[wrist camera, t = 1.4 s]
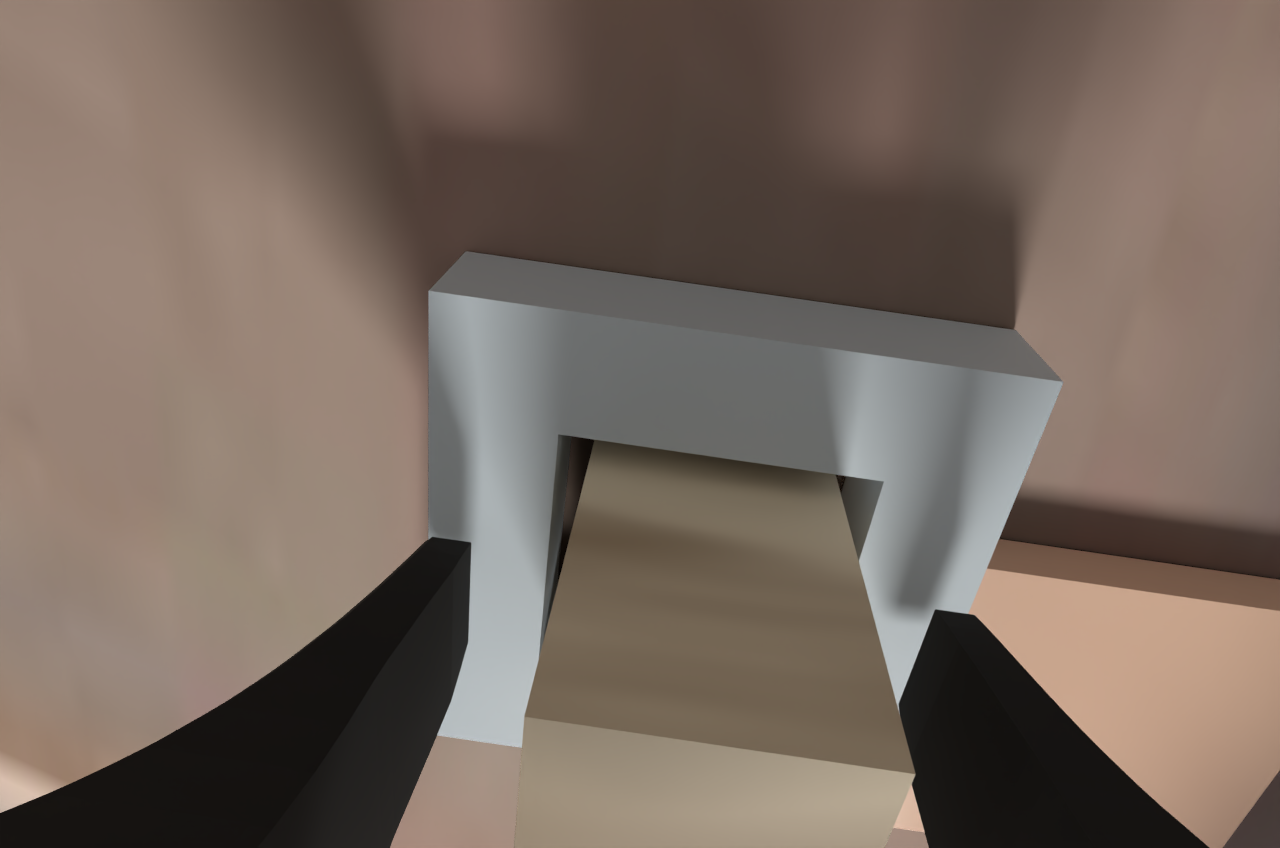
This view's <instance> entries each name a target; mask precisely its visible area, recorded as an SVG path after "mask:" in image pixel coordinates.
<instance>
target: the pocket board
mask: <svg viewBox="0 0 1280 848" xmlns="http://www.w3.org/2000/svg"><path fill="white" fill-rule="evenodd" d="M1062 384H1063V381H1062V380H1061V379H1060V378H1059V377H1058V376H1057V374H1056V373H1055V372H1054V371H1053V370H1052V369H1051V368H1050V367H1049V366H1048V365H1047V364H1046V362H1045V361H1044V360H1043V359H1042V358H1041V357H1040V356H1039V355H1038V354H1037V353H1036V352H1035V351H1034V349H1033V348H1032V347H1031V346H1030V345H1029V344H1028V343H1027V342H1026V341H1025V340H1024V339H1023V337H1022V336H1021V335H1020V334H1019V333H1018V332H1017V331H1016V330H1012V329H1005V328H998V327H991V326H984V325H977V324H970V323H963V322H956V321H949V320H942V319H935V318H928V317H921V316H914V315H907V314H900V313H893V312H886V311H879V310H872V309H865V308H858V307H851V306H844V305H837V304H830V303H823V302H816V301H809V300H802V299H795V298H788V297H782V296H775V295H768V294H761V293H754V292H747V291H740V290H733V289H726V288H719V287H712V286H705V285H698V284H691V283H684V282H677V281H670V280H663V279H656V278H649V277H642V276H635V275H628V274H621V273H614V272H607V271H600V270H593V269H586V268H579V267H572V266H565V265H558V264H551V263H544V262H537V261H530V260H524V259H517V258H510V257H503V256H496V255H489V254H482V253H475V252H468V251H466V252H465V253H464V254H463V255H462V256H461V257H460V258H459V259H458V260H457V261H456V262H455V263H454V264H453V265H452V266H451V267H450V269H449V270H448V271H447V272H446V273H445V274H444V275H443V276H442V277H441V278H440V279H439V280H438V281H437V282H436V283H435V284H434V286H433V287H432V288H431V289H430V290H429V408H428V539H430V538H431V537H438V538H445V539H452V540H459V541H466V542H471V571H470V603H469V636H468V645H467V648H466V652H465V655H464V659H463V662H462V666H461V669H460V673H459V676H458V680H457V683H456V686H455V690H454V693H453V696H452V700H451V703H450V705H449V708H448V710H447V712H446V715H445V717H444V720H443V722H442V724H441V727H440V729H439V732H438V734H437V735H439V736H445V737H452V738H459V739H466V740H472V741H479V742H486V743H493V744H500V745H506V746H513V747H520V748H522V738H523V726H524V716H525V712H526V708H527V704H528V700H529V696H530V692H531V688H532V684H533V680H534V676H535V672H536V668H537V664H538V660H539V657H540V653H541V649H542V645H543V641H544V637H545V633H546V629H547V625H548V621H549V617H550V613H551V609H552V605H553V601H554V598H555V594H556V590H557V581H558V571H559V560H560V550H561V540H562V529H563V519H564V508H565V498H566V488H567V477H568V467H569V457H570V446H571V436H573V437H580V438H587V439H594V440H601V441H608V442H615V443H622V444H629V445H635V446H642V447H649V448H656V449H663V450H670V451H677V452H684V453H691V454H698V455H705V456H711V457H718V458H725V459H732V460H739V461H746V462H753V463H760V464H767V465H774V466H780V467H787V468H794V469H801V470H808V471H815V472H822V473H829V474H836V475H843V476H846V478H845V481H844V485H843V488H842V492H841V497H842V500H843V504H844V508H845V512H846V515H847V519H848V523H849V527H850V530H851V534H852V538H853V542H854V545H855V549H856V553H857V557H858V560H859V564H860V568H861V572H862V575H863V579H864V583H865V587H866V590H867V594H868V598H869V602H870V605H871V609H872V613H873V617H874V620H875V624H876V628H877V632H878V635H879V639H880V643H881V647H882V650H883V654H884V658H885V662H886V665H887V669H888V673H889V677H890V680H891V684H892V688H893V692H894V695H895V699H896V703H897V706H898V710H899V705H898V704H899V701H900V699H901V696H902V694H903V691H904V688H905V686H906V683H907V681H908V678H909V676H910V673H911V670H912V668H913V665H914V663H915V660H916V657H917V655H918V652H919V650H920V647H921V644H922V642H923V639H924V637H925V634H926V631H927V629H928V626H929V624H930V621H931V619H932V616H933V613H934V611H935V609H937V610H944V611H951V612H958V613H965V614H968V613H969V611H970V608H971V606H972V603H973V601H974V599H975V596H976V594H977V591H978V589H979V586H980V584H981V581H982V579H983V577H984V574H985V572H986V569H987V567H988V564H989V562H990V560H991V557H992V555H993V552H994V550H995V547H996V545H997V543H998V540H999V538H1000V535H1001V533H1002V530H1003V528H1004V526H1005V523H1006V521H1007V518H1008V516H1009V513H1010V511H1011V509H1012V506H1013V504H1014V501H1015V499H1016V496H1017V494H1018V491H1019V489H1020V487H1021V484H1022V482H1023V479H1024V477H1025V474H1026V472H1027V470H1028V467H1029V465H1030V462H1031V460H1032V457H1033V455H1034V453H1035V450H1036V448H1037V445H1038V443H1039V440H1040V438H1041V436H1042V433H1043V431H1044V428H1045V426H1046V423H1047V421H1048V419H1049V416H1050V414H1051V411H1052V409H1053V406H1054V404H1055V402H1056V399H1057V397H1058V394H1059V392H1060V389H1061V387H1062ZM899 714H900V713H899Z"/></svg>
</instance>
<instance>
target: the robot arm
mask: <svg viewBox="0 0 1280 848" xmlns="http://www.w3.org/2000/svg"><path fill="white" fill-rule="evenodd" d="M470 571H471V542H466V541H459V540H452V539H445V538H438V537H431V538H430V539H428V540H427V541H425V542H424V543H423V544H422V545H421V546H420V547H419V548H418V549H417V550H416V551H415V552H414V553H413V554H412V555H411V556H410V557H409V558H408V559H407V560H406V561H405V562H403V563H402V564H401V565H400V566H399V567H398V568H397V569H396V570H395V571H394V572H393V573H392V574H391V575H390V576H389V577H387V578H386V579H385V580H384V581H383V582H382V583H381V584H380V585H379V586H378V587H376V588H375V589H374V590H373V591H372V592H371V593H370V594H369V595H367V596H366V597H365V598H364V599H363V600H362V601H360V602H359V603H358V604H357V605H356V606H355V607H353V608H352V609H351V610H350V611H349V612H348V613H347V614H345V615H344V616H343V617H342V618H341V619H339V620H338V621H337V622H336V623H335V624H333V625H332V626H331V627H330V628H328V629H327V630H326V631H324V632H323V633H322V634H321V635H319V636H318V637H317V638H315V639H314V640H313V641H312V642H310V643H309V644H308V645H306V646H305V647H304V648H303V649H301V650H300V651H299V652H297V653H296V654H295V655H294V656H292V657H291V658H290V659H288V660H287V661H285V662H284V663H283V664H281V665H280V666H278V667H277V668H276V669H274V670H273V671H271V672H270V673H269V674H267V675H266V676H264V677H263V678H261V679H260V680H258V681H257V682H255V683H254V684H252V685H251V686H249V687H248V688H246V689H245V690H243V691H242V692H240V693H239V694H237V695H236V696H234V697H233V698H231V699H229V700H228V701H226V702H225V703H223V704H221V705H220V706H218V707H216V708H215V709H213V710H211V711H209V712H208V713H206V714H204V715H203V716H201V717H199V718H197V719H196V720H194V721H192V722H190V723H189V724H187V725H185V726H183V727H182V728H180V729H178V730H176V731H174V732H173V733H171V734H169V735H167V736H166V737H164V738H162V739H160V740H159V741H157V742H155V743H153V744H151V745H149V746H147V747H145V748H143V749H141V750H139V751H137V752H135V753H133V754H131V755H129V756H127V757H125V758H123V759H121V760H119V761H117V762H115V763H113V764H111V765H109V766H107V767H105V768H103V769H101V770H99V771H96V772H94V773H92V774H90V775H88V776H86V777H84V778H82V779H79V780H77V781H75V782H73V783H71V784H69V785H66V786H64V787H62V788H60V789H57V790H55V791H53V792H51V793H48V794H46V795H43V796H41V797H39V798H36V799H34V800H31V801H29V802H26V803H24V804H22V805H19V806H17V807H14V808H12V809H9V810H7V811H4V812H2V813H0V848H390V846H391V843H392V840H393V838H394V835H395V833H396V830H397V828H398V826H399V823H400V821H401V819H402V816H403V814H404V812H405V809H406V807H407V805H408V802H409V800H410V797H411V795H412V793H413V790H414V788H415V786H416V783H417V781H418V779H419V776H420V774H421V772H422V769H423V767H424V765H425V762H426V760H427V758H428V755H429V753H430V751H431V748H432V746H433V743H434V741H435V739H436V736H437V734H438V732H439V729H440V727H441V724H442V722H443V720H444V717H445V715H446V712H447V710H448V708H449V705H450V703H451V700H452V696H453V693H454V690H455V686H456V683H457V680H458V676H459V673H460V669H461V666H462V662H463V659H464V655H465V652H466V648H467V645H468V636H469V603H470ZM898 705H899V713H900V718H901V721H902V725H903V729H904V733H905V736H906V740H907V744H908V748H909V751H910V755H911V759H912V763H913V766H914V770H915V774H916V775H915V777H914V779H913V782H912V788H913V791H914V795H915V799H916V802H917V806H918V810H919V813H920V817H921V821H922V824H923V828H924V831H925V835H926V838H927V842H928V846H929V848H1210V847H1208V846H1207V845H1206V844H1205V843H1204V842H1202V841H1201V840H1200V839H1199V838H1198V837H1197V836H1195V835H1194V834H1193V833H1192V832H1191V831H1190V830H1188V829H1187V828H1186V827H1185V826H1184V825H1183V824H1181V823H1180V822H1179V821H1178V820H1177V819H1176V818H1174V817H1173V816H1172V815H1171V814H1170V813H1169V812H1167V811H1166V810H1165V809H1164V808H1163V807H1162V806H1160V805H1159V804H1158V803H1157V802H1156V801H1155V800H1154V799H1153V798H1152V797H1151V796H1149V795H1148V794H1147V793H1146V792H1145V791H1144V790H1143V789H1142V788H1141V787H1140V786H1139V785H1137V784H1136V783H1135V782H1134V781H1133V780H1132V779H1131V778H1130V777H1129V776H1128V775H1127V774H1126V773H1125V772H1124V771H1123V770H1122V769H1121V768H1120V767H1119V766H1118V765H1117V764H1116V763H1115V762H1114V761H1113V760H1112V759H1110V758H1109V757H1108V756H1107V755H1106V754H1105V753H1104V752H1103V751H1102V750H1101V749H1100V748H1099V747H1098V746H1097V745H1096V744H1095V743H1094V742H1093V741H1092V740H1091V739H1090V738H1089V737H1088V736H1087V735H1086V734H1085V733H1084V732H1083V731H1082V730H1081V729H1080V728H1079V726H1078V725H1077V724H1076V723H1075V722H1074V721H1073V720H1072V719H1071V718H1070V717H1069V716H1068V715H1067V714H1066V713H1065V712H1064V711H1063V710H1062V709H1061V708H1060V707H1059V705H1058V704H1057V703H1056V702H1055V701H1054V700H1053V699H1052V698H1051V697H1050V696H1049V695H1048V694H1047V693H1046V691H1045V690H1044V689H1043V688H1042V687H1041V686H1040V685H1039V684H1038V683H1037V682H1036V681H1035V680H1034V678H1033V677H1032V676H1031V675H1030V674H1029V673H1028V672H1027V671H1026V670H1025V669H1024V667H1023V666H1022V665H1021V664H1020V663H1019V662H1018V661H1017V660H1016V659H1015V658H1014V656H1013V655H1012V654H1011V653H1010V652H1009V651H1008V650H1007V649H1006V648H1005V647H1004V645H1003V644H1002V643H1001V642H1000V641H999V640H998V639H997V638H996V637H995V636H994V635H993V633H992V632H991V631H990V630H989V629H988V628H987V627H986V626H985V625H984V624H983V623H982V622H981V621H980V620H979V619H978V618H977V617H976V616H975V615H972V614H965V613H958V612H951V611H944V610H937V609H935V611H934V613H933V616H932V619H931V621H930V624H929V626H928V629H927V631H926V634H925V637H924V639H923V642H922V644H921V647H920V650H919V652H918V655H917V657H916V660H915V663H914V665H913V668H912V670H911V673H910V676H909V678H908V681H907V683H906V686H905V688H904V691H903V694H902V696H901V699H900V701H899V704H898Z"/></svg>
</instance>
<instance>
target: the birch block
mask: <svg viewBox="0 0 1280 848" xmlns="http://www.w3.org/2000/svg"><path fill="white" fill-rule="evenodd" d="M915 775H916V774H915V770H914V766H913V763H912V759H911V755H910V751H909V748H908V744H907V740H906V736H905V733H904V729H903V725H902V721H901V718H900V714H899V710H898V706H897V703H896V699H895V695H894V692H893V688H892V684H891V680H890V677H889V673H888V669H887V665H886V662H885V658H884V654H883V650H882V647H881V643H880V639H879V635H878V632H877V628H876V624H875V620H874V617H873V613H872V609H871V605H870V602H869V598H868V594H867V590H866V587H865V583H864V579H863V575H862V572H861V568H860V564H859V560H858V557H857V553H856V549H855V545H854V542H853V538H852V534H851V530H850V527H849V523H848V519H847V515H846V512H845V508H844V504H843V500H842V497H841V493H840V489H839V486H838V482H837V478H836V474H829V473H822V472H815V471H808V470H801V469H794V468H787V467H780V466H774V465H767V464H760V463H753V462H746V461H739V460H732V459H725V458H718V457H711V456H705V455H698V454H691V453H684V452H677V451H670V450H663V449H656V448H649V447H642V446H635V445H629V444H622V443H615V442H608V441H601V440H594V444H593V448H592V452H591V456H590V460H589V464H588V468H587V472H586V476H585V479H584V483H583V487H582V491H581V495H580V499H579V503H578V507H577V511H576V515H575V519H574V523H573V527H572V531H571V535H570V539H569V542H568V546H567V550H566V554H565V558H564V562H563V566H562V570H561V574H560V578H559V582H558V586H557V590H556V594H555V598H554V601H553V605H552V609H551V613H550V617H549V621H548V625H547V629H546V633H545V637H544V641H543V645H542V649H541V653H540V657H539V660H538V664H537V668H536V672H535V676H534V680H533V684H532V688H531V692H530V696H529V700H528V704H527V708H526V712H525V716H524V726H523V738H522V751H521V763H520V776H519V789H518V801H517V814H516V826H515V839H514V848H885V846H886V843H887V841H888V839H889V836H890V834H891V831H892V829H893V827H894V824H895V822H896V820H897V817H898V815H899V812H900V810H901V808H902V805H903V803H904V801H905V798H906V796H907V794H908V791H909V789H910V786H911V784H912V782H913V779H914V777H915Z"/></svg>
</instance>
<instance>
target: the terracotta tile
mask: <svg viewBox="0 0 1280 848" xmlns="http://www.w3.org/2000/svg"><path fill="white" fill-rule="evenodd" d="M968 614H972V615H975V616H976V617H977V618H978V619H979V620H980V621H981V622H982V623H983V624H984V625H985V626H986V627H987V628H988V629H989V630H990V631H991V632H992V633H993V635H994V636H995V637H996V638H997V639H998V640H999V641H1000V642H1001V643H1002V644H1003V645H1004V647H1005V648H1006V649H1007V650H1008V651H1009V652H1010V653H1011V654H1012V655H1013V656H1014V658H1015V659H1016V660H1017V661H1018V662H1019V663H1020V664H1021V665H1022V666H1023V667H1024V669H1025V670H1026V671H1027V672H1028V673H1029V674H1030V675H1031V676H1032V677H1033V678H1034V680H1035V681H1036V682H1037V683H1038V684H1039V685H1040V686H1041V687H1042V688H1043V689H1044V690H1045V691H1046V693H1047V694H1048V695H1049V696H1050V697H1051V698H1052V699H1053V700H1054V701H1055V702H1056V703H1057V704H1058V705H1059V707H1060V708H1061V709H1062V710H1063V711H1064V712H1065V713H1066V714H1067V715H1068V716H1069V717H1070V718H1071V719H1072V720H1073V721H1074V722H1075V723H1076V724H1077V725H1078V726H1079V728H1080V729H1081V730H1082V731H1083V732H1084V733H1085V734H1086V735H1087V736H1088V737H1089V738H1090V739H1091V740H1092V741H1093V742H1094V743H1095V744H1096V745H1097V746H1098V747H1099V748H1100V749H1101V750H1102V751H1103V752H1104V753H1105V754H1106V755H1107V756H1108V757H1109V758H1110V759H1112V760H1113V761H1114V762H1115V763H1116V764H1117V765H1118V766H1119V767H1120V768H1121V769H1122V770H1123V771H1124V772H1125V773H1126V774H1127V775H1128V776H1129V777H1130V778H1131V779H1132V780H1133V781H1134V782H1135V783H1136V784H1137V785H1139V786H1140V787H1141V788H1142V789H1143V790H1144V791H1145V792H1146V793H1147V794H1148V795H1149V796H1151V797H1152V798H1153V799H1154V800H1155V801H1156V802H1157V803H1158V804H1159V805H1160V806H1162V807H1163V808H1164V809H1165V810H1166V811H1167V812H1169V813H1170V814H1171V815H1172V816H1173V817H1174V818H1176V819H1177V820H1178V821H1179V822H1180V823H1181V824H1183V825H1184V826H1185V827H1186V828H1187V829H1188V830H1190V831H1191V832H1192V833H1193V834H1194V835H1195V836H1197V837H1198V838H1199V839H1200V840H1201V841H1202V842H1204V843H1205V844H1206V845H1207V846H1208V847H1210V848H1223V846H1224V845H1225V844H1226V842H1227V841H1228V840H1229V838H1230V837H1231V836H1232V834H1233V833H1234V831H1235V830H1236V829H1237V827H1238V826H1239V825H1240V823H1241V822H1242V821H1243V819H1244V818H1245V817H1246V815H1247V814H1248V812H1249V811H1250V810H1251V808H1252V807H1253V806H1254V804H1255V803H1256V802H1257V800H1258V799H1259V798H1260V796H1261V795H1262V793H1263V792H1264V791H1265V789H1266V788H1267V787H1268V785H1269V784H1270V783H1271V781H1272V780H1273V778H1274V777H1275V776H1276V774H1277V773H1278V772H1279V770H1280V580H1278V579H1271V578H1264V577H1258V576H1251V575H1244V574H1237V573H1230V572H1223V571H1216V570H1209V569H1202V568H1196V567H1189V566H1182V565H1175V564H1168V563H1161V562H1154V561H1147V560H1140V559H1134V558H1127V557H1120V556H1113V555H1106V554H1099V553H1092V552H1085V551H1078V550H1071V549H1065V548H1058V547H1051V546H1044V545H1037V544H1030V543H1023V542H1016V541H1009V540H1003V539H999V540H998V543H997V545H996V547H995V550H994V552H993V555H992V557H991V560H990V562H989V564H988V567H987V569H986V572H985V574H984V577H983V579H982V581H981V584H980V586H979V589H978V591H977V594H976V596H975V599H974V601H973V603H972V606H971V608H970V611H969V613H968ZM893 828H899V829H906V830H913V831H920V832H925V831H924V828H923V824H922V821H921V817H920V813H919V810H918V806H917V802H916V799H915V795H914V791H913V788H912V784H911V786H910V789H909V791H908V794H907V796H906V798H905V801H904V803H903V805H902V808H901V810H900V812H899V815H898V817H897V820H896V822H895V824H894V827H893Z"/></svg>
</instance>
